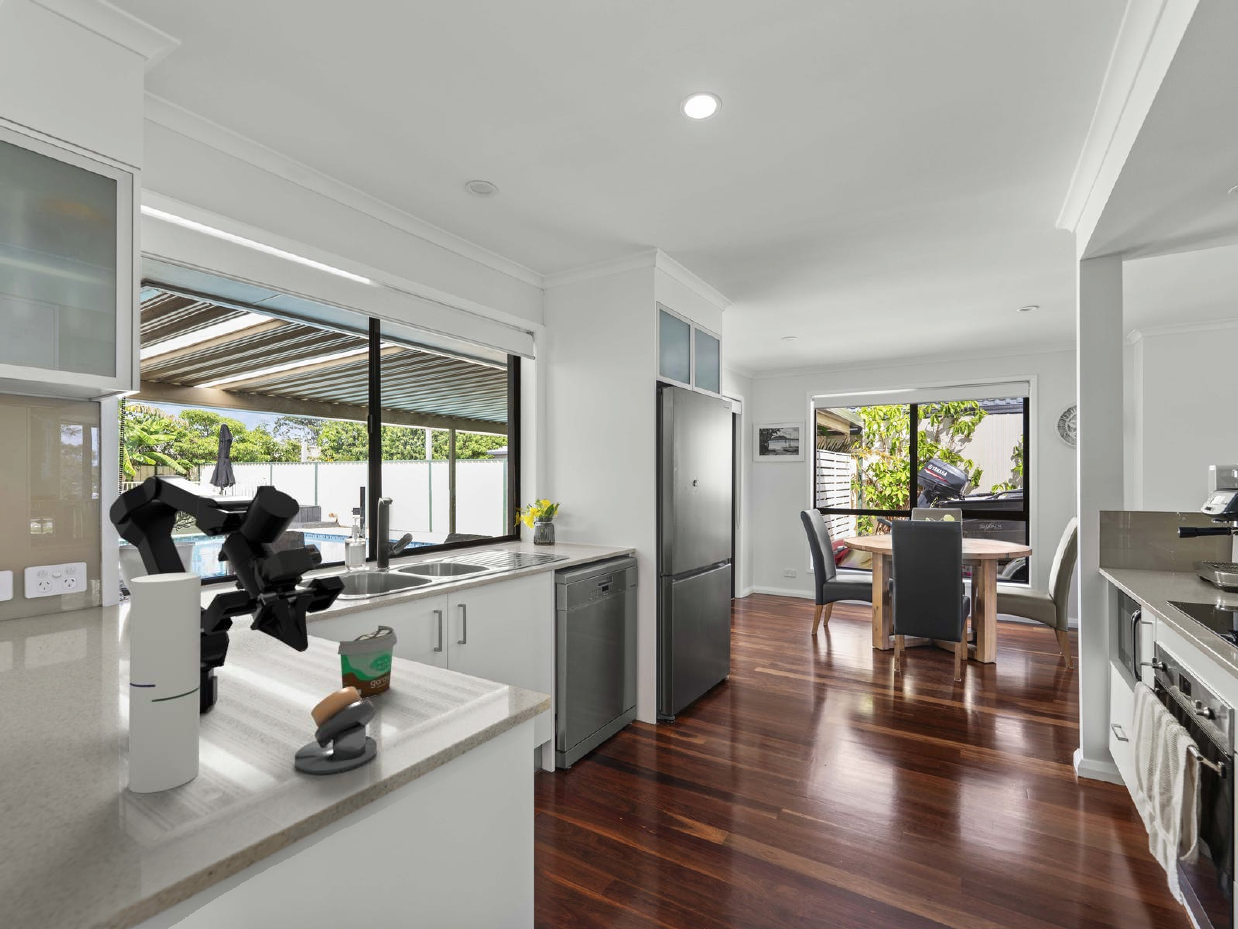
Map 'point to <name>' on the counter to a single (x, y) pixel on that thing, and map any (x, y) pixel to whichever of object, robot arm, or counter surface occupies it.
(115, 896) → the counter surface
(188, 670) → the cylindrical container
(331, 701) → the button cap
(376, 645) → the food container
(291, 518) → the robot arm
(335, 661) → the counter surface
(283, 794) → the counter surface
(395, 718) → the counter surface
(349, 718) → the button post
